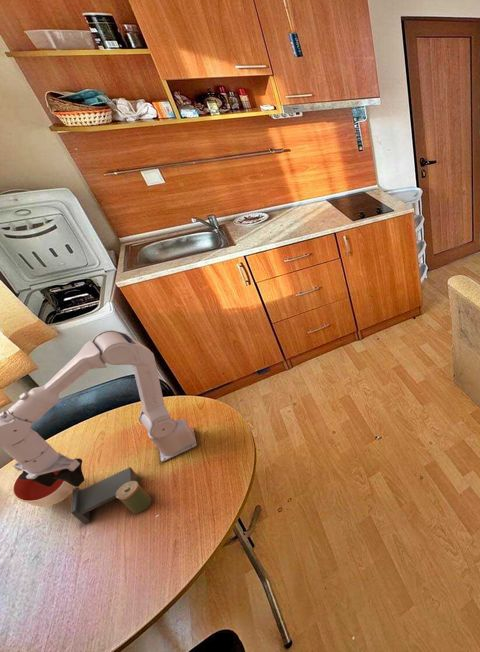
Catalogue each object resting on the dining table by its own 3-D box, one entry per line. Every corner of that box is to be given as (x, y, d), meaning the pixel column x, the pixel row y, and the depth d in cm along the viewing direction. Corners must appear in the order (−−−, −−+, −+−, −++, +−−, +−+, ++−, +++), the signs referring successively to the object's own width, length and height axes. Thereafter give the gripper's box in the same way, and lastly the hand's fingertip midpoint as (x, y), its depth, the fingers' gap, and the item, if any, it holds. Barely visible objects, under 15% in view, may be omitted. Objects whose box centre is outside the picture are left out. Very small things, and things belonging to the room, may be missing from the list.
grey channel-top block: (137, 475, 111) (127, 464, 107) (139, 496, 106) (128, 484, 102) (85, 500, 105) (72, 489, 101) (83, 524, 99) (70, 512, 96)
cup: (56, 512, 103) (42, 507, 96) (17, 500, 101) (-1, 494, 94) (88, 475, 110) (77, 468, 102) (51, 463, 108) (38, 455, 100)
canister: (151, 493, 106) (136, 476, 102) (152, 506, 103) (137, 489, 98) (130, 503, 104) (114, 486, 99) (131, 517, 101) (114, 500, 96)
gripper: (-14, 467, 88) (25, 497, 95) (46, 467, 88) (80, 498, 95) (16, 441, 94) (50, 472, 101) (72, 441, 93) (102, 472, 101)
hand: (66, 483), depth 99 cm, fingers open, 7 cm apart
